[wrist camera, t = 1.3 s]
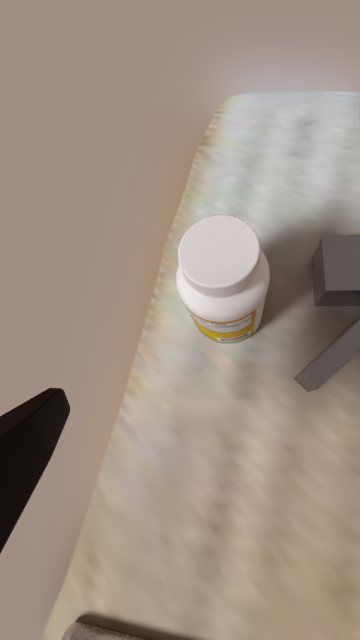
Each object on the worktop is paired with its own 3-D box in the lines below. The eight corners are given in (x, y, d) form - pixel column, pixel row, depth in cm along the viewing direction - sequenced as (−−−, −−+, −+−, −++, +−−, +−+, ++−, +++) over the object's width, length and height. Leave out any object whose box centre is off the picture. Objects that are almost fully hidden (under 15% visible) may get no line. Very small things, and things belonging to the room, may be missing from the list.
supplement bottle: (220, 269, 24) (206, 185, 15) (276, 304, 22) (300, 231, 13) (180, 320, 23) (141, 264, 14) (235, 359, 22) (230, 324, 13)
